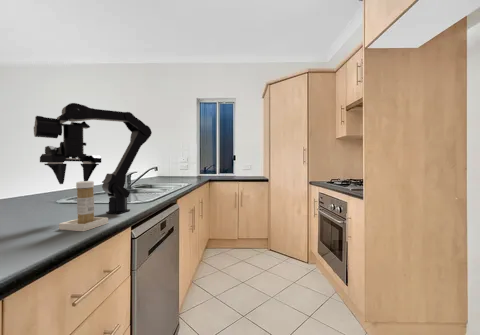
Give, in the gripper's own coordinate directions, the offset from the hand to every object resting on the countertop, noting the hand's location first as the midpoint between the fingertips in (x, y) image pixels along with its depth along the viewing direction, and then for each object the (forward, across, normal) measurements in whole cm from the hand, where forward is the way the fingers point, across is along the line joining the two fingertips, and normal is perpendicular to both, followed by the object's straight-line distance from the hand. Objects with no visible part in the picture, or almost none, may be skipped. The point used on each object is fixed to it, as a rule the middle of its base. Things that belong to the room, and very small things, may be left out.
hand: (74, 182), depth 79 cm
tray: (+13, +7, +12) cm, 19 cm away
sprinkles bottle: (+12, +7, +12) cm, 19 cm away
